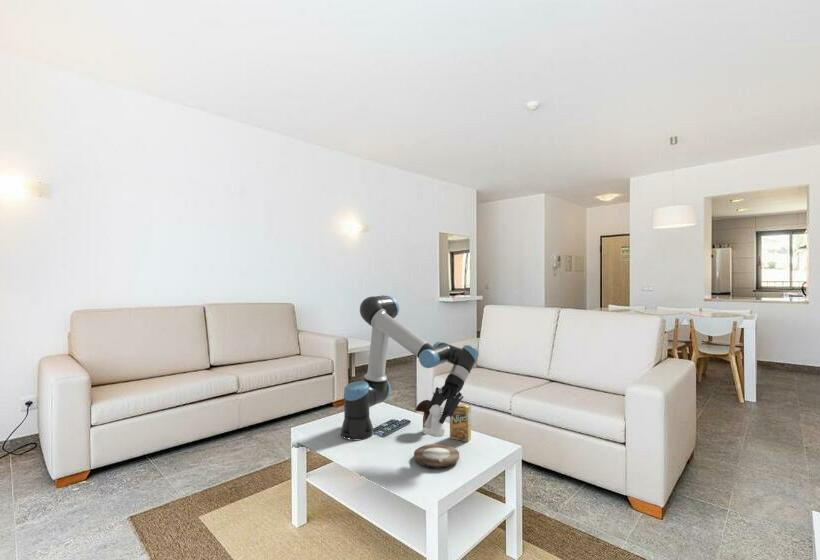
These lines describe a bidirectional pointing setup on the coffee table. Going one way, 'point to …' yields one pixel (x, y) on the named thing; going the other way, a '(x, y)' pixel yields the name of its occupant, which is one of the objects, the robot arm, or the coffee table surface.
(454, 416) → the candy box
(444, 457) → the turntable platter
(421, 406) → the decorative mushroom
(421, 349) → the robot arm
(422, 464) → the turntable base
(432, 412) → the sitting furry creature
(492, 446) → the coffee table surface
